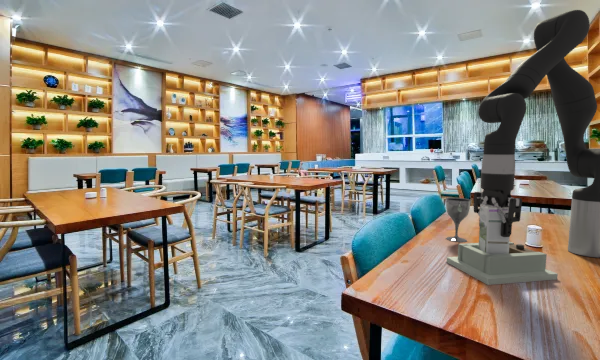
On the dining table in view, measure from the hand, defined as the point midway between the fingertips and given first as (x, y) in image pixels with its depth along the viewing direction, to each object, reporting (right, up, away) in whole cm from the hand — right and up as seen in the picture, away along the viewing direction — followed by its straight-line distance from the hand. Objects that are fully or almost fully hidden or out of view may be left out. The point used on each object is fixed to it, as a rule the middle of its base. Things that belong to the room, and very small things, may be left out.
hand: (494, 232), depth 85 cm
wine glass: (+5, -8, +31) cm, 33 cm away
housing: (+1, -10, +1) cm, 11 cm away
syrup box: (0, -7, +1) cm, 7 cm away
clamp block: (+8, -9, +2) cm, 12 cm away
